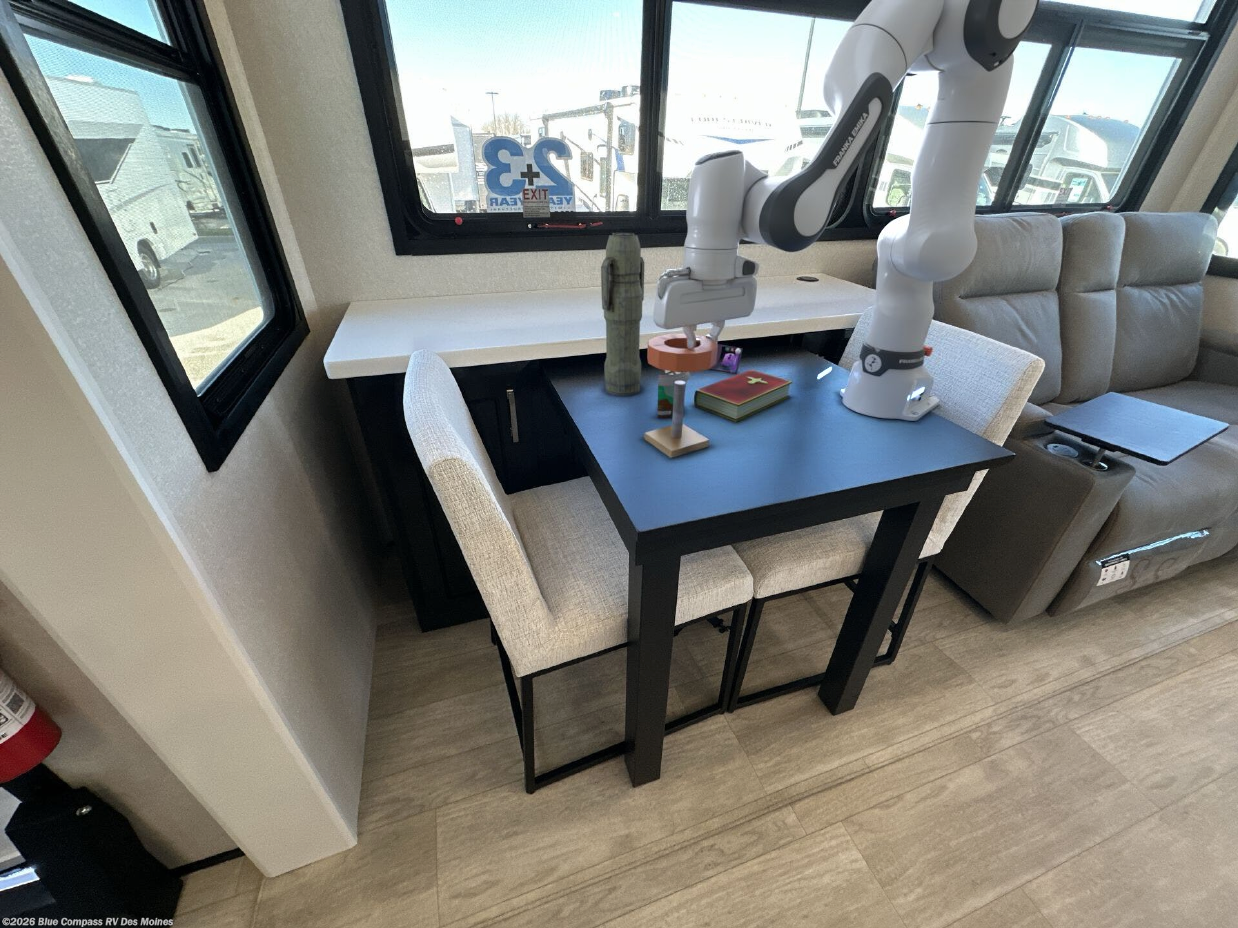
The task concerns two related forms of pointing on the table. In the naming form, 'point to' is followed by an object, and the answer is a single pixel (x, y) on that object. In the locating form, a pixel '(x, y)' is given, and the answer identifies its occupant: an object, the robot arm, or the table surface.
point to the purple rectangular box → (728, 358)
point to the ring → (681, 353)
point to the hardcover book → (742, 394)
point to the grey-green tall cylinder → (622, 312)
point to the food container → (668, 391)
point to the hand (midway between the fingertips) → (702, 347)
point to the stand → (677, 430)
